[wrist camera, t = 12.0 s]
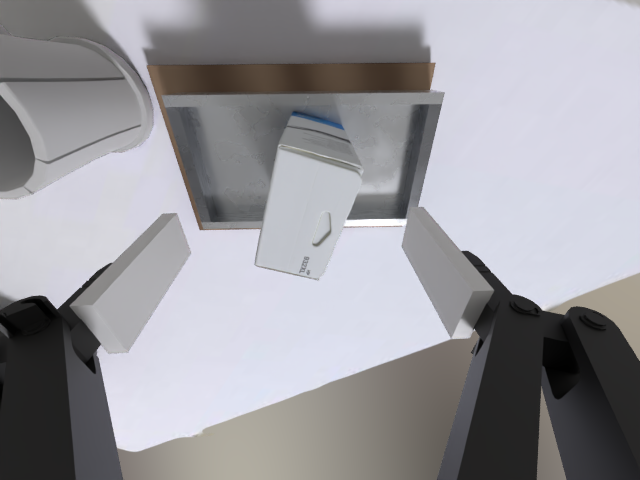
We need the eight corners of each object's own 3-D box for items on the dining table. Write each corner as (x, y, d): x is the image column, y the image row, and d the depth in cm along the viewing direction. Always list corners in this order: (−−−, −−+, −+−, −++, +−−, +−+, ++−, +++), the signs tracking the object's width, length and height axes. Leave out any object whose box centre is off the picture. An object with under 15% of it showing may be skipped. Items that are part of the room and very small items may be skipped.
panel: (202, 225, 31) (199, 230, 30) (152, 65, 22) (146, 65, 21) (399, 222, 31) (402, 226, 30) (430, 62, 22) (435, 62, 21)
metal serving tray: (212, 215, 29) (203, 229, 26) (178, 92, 22) (161, 95, 19) (405, 211, 29) (413, 225, 27) (430, 89, 22) (444, 92, 20)
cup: (27, 111, 23) (-183, 142, 13) (18, -7, 19) (-305, -90, 9) (148, 165, 26) (49, 222, 16) (164, 73, 22) (43, 78, 12)
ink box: (292, 108, 22) (275, 139, 12) (345, 125, 23) (369, 168, 13) (273, 195, 26) (250, 269, 17) (318, 207, 27) (321, 283, 18)
